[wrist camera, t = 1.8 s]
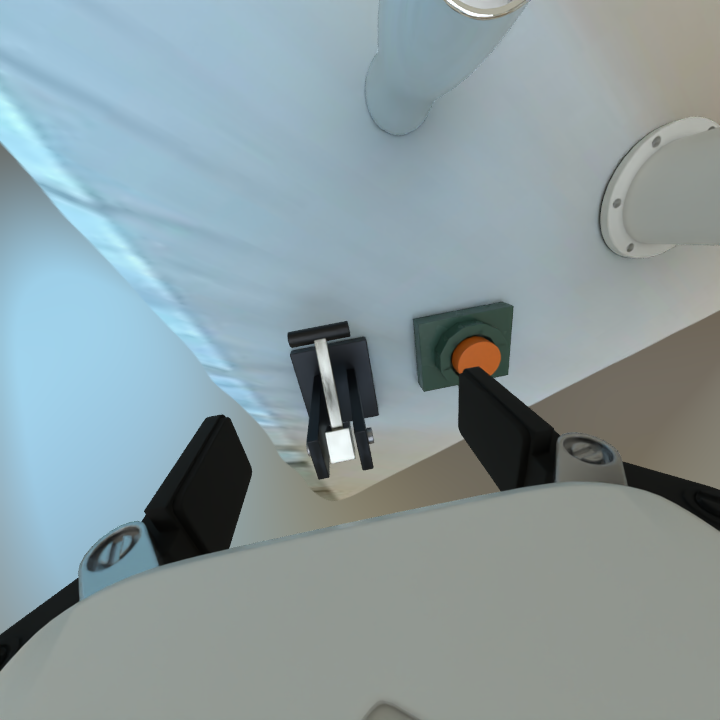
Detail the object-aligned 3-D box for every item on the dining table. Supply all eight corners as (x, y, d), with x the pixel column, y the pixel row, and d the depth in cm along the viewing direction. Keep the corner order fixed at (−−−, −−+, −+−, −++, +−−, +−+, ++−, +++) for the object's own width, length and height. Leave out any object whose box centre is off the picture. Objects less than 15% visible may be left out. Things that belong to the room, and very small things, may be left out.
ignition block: (502, 301, 32) (524, 309, 29) (498, 367, 36) (517, 381, 32) (412, 318, 32) (423, 329, 28) (418, 383, 36) (428, 399, 32)
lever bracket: (291, 350, 32) (269, 414, 20) (364, 336, 32) (384, 391, 21) (313, 423, 37) (305, 509, 25) (377, 410, 37) (399, 489, 25)
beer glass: (451, 109, 24) (609, -55, 11) (385, 159, 25) (452, 68, 12) (415, 12, 21) (567, -382, 8) (343, 72, 22) (366, -180, 9)
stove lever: (291, 333, 26) (284, 331, 23) (347, 322, 26) (347, 318, 23) (315, 458, 26) (311, 468, 23) (372, 446, 26) (373, 455, 23)
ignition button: (493, 332, 30) (502, 337, 28) (491, 370, 32) (499, 377, 30) (451, 340, 30) (458, 346, 28) (451, 378, 32) (458, 385, 30)
